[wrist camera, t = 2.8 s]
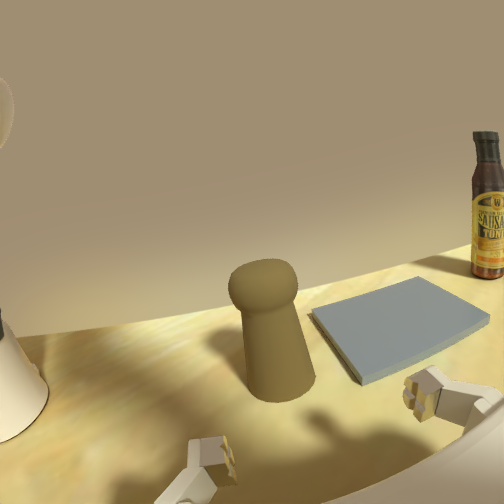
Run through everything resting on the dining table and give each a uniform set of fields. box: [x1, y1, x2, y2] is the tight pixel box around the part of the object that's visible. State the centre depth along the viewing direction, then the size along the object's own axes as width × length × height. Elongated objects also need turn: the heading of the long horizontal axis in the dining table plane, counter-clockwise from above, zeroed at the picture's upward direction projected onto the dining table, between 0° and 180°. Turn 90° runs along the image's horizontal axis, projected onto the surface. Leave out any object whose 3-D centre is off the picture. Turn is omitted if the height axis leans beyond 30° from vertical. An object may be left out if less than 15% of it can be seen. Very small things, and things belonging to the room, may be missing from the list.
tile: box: [312, 276, 490, 386], centre depth 28 cm, size 16×14×1 cm
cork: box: [228, 259, 316, 403], centre depth 23 cm, size 6×6×11 cm
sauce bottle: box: [471, 131, 504, 279], centre depth 29 cm, size 6×6×20 cm
